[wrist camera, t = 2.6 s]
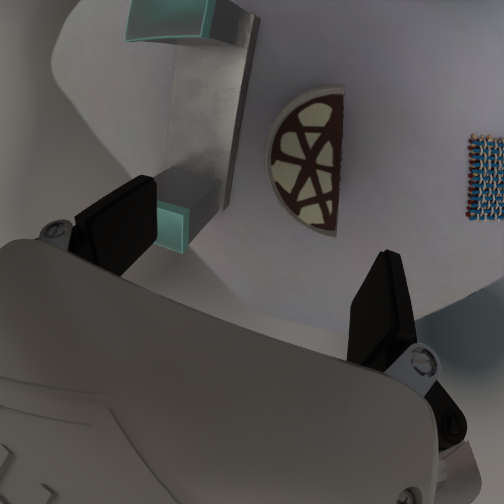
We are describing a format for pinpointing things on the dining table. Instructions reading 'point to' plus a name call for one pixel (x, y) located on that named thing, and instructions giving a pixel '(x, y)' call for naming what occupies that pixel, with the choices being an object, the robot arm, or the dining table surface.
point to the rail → (209, 108)
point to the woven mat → (486, 180)
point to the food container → (308, 158)
